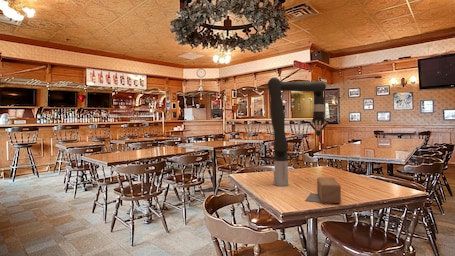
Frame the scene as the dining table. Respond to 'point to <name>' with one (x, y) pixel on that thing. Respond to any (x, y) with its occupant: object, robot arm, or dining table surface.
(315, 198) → the mat
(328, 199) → the block
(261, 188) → the dining table surface
